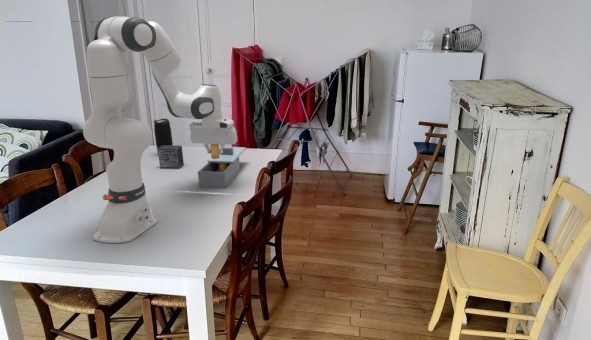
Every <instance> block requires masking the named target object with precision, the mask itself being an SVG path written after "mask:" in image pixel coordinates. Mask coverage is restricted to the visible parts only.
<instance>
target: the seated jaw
mask: <svg viewBox="0 0 591 340" xmlns="http://www.w3.org/2000/svg"><path fill="white" fill-rule="evenodd" d="M226 168H227V163H219V170H220V172H224V171H225V170H226Z"/></svg>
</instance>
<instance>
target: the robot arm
mask: <svg viewBox="0 0 591 340" xmlns="http://www.w3.org/2000/svg"><path fill="white" fill-rule="evenodd" d="M171 39H172V38H171V37H170V36H169V35H168V34H167V32H166V31H165V30H164V28H163V27H162V26H161V25H160V24H159V23H158V22H156V21H152V20H149V21H147V20H145V19H143V18H141V17H137V16H126V15H125V16H124V15H117V16H107V17H105V18H102V19H100V20H99V21H98V22H97V23H96V25H95V28H94V36H93V40H92V41H91V42H89V44H88V45H87V46H86V47H87V48H86V67H87V74H88V78H89V84H90V91H91V97H92V105H91V106H92V107H91V110H90V111H91V112H90V115H89V117H88V119H87V120H86V121H85V122H84V124H83V126H82V134H83V137H84V139H85V140H86V141H87V142H88V143H89V144H92V145H94V146H97V147H98V148H104V149H110V150H113V160H112V161H110V162H109V163H108V164H107V166H106V170H105V171H106V174H107V175H106V176H107V181H108V187H109V188H108V192H107V194H103V196H102V200H103V201H108V202H107V204H106V205H105V208H104V209H103V212H102V214H101V215H100V218H99V221H98V225H99V228H98V229H97V231H96V232H95V233H94V235H93V238H92V239H93V241H94V240H95V241H96V242H100V243H105V244H106V243H108V244H120V243H121V244H123V243H128V242H131V241H133V240H134V239H136V238H137V237H139V236H140V235H141V234H143V233H145V232H146V231H147V230H149V229H150V228H152V227H153V226H154V225H156V224H157V223H158V221H157V219H156V218H155V217H154V214H153V210H152V205H151V203H150V202H151V201H150V200H149V199H148V197H147V196H146V186H145V183H144V182H143V177H142V167H141V165H142V164H141V163H142V158H143V157H142V156H143V154H144V152H145V150H146V149H148V148H149V146H150V145H151V143H152V141H153V131H152V128H151V127H150V125H149V124H148V123H146V122H144V121H141V120H139V119H137V118H132V117H131V118H128V117H122V113H121V112H122V107H123V105H125V104H126V103H127V102H128V100H129V99H130V94H129V86H128V81H127V80H128V79H127V74H126V68H125V64H124V63H125V55H126V53H133V52H136V53H140V52H141V53H142V55H143V56H144V57H145V59H146V60H147V62H148V64H149V65H150V68H151V73H152V75H153V78H154V80H155V83H156V84H157V86H158V88H159V90H160V91H161V93H162V95H163V97H164V99H165V102H166V106H167V110H168V112H169V113H170V114H171V116H173V117H175V118H181V119H182V118H183V119H192V120H201V121H192V122H191V123H190V124H189V131H190V136H189V137H190V142H191V143H192V144H202V145H204V146H203V147H204V148H205V149H206V152H207V154H211V148H210V147H209V146H210V145H211V144H219V147H220V148H221V149H220V148H219V150H218V154H222V153H223V147H226V146H225V145H235V144H236V143H237V142H238V134H237V133H238V132H237V129H236V126H234V125H235V122H234V120H233V119H230V118H228V117H224V116H223V113H222V109H221V108H222V97H221V92H220V89H219V87H218V86H217V85H215V84H210V83H209V84H207V83H206V84H205V83H202V84H200V85H199V88H198V89H197V90H196V92H194V93H192V94H188V93H184V92H182V91H180V90H179V89H178V87H177V85H176V82H175V80H174V79H173V77H172V75H173V74H174V73H175V72H176V71H177V70H178V69H179V68H180V66H181V55H180V53H179V51H178V49H177V47H176V46H175V44H174V42H173V41H172V40H171Z"/></svg>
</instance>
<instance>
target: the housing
mask: <svg viewBox="0 0 591 340" xmlns="http://www.w3.org/2000/svg"><path fill="white" fill-rule="evenodd" d="M240 172H241V165H240V156H239V157H238V158H237V159H236V160H235V161H234V163H227V168H226V170H225V171H224V172H220V170H219V163H214V162H208V161H207V163H205V165H203V166H202V167H201V168H200V169H199V170H198V171H197V176H198V177H197V179H198V187H199V188H210V189H211V188H213V189H227V188H228V187H229V185H230V184H231V182H233V180H235V178H236V176H237V175H238V174H239V173H240Z"/></svg>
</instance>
